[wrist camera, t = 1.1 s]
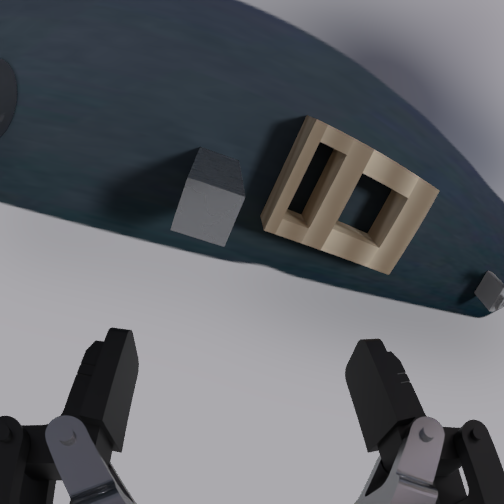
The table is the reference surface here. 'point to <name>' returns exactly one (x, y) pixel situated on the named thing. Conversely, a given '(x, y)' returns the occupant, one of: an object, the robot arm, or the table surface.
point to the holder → (338, 193)
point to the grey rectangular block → (210, 198)
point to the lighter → (491, 292)
